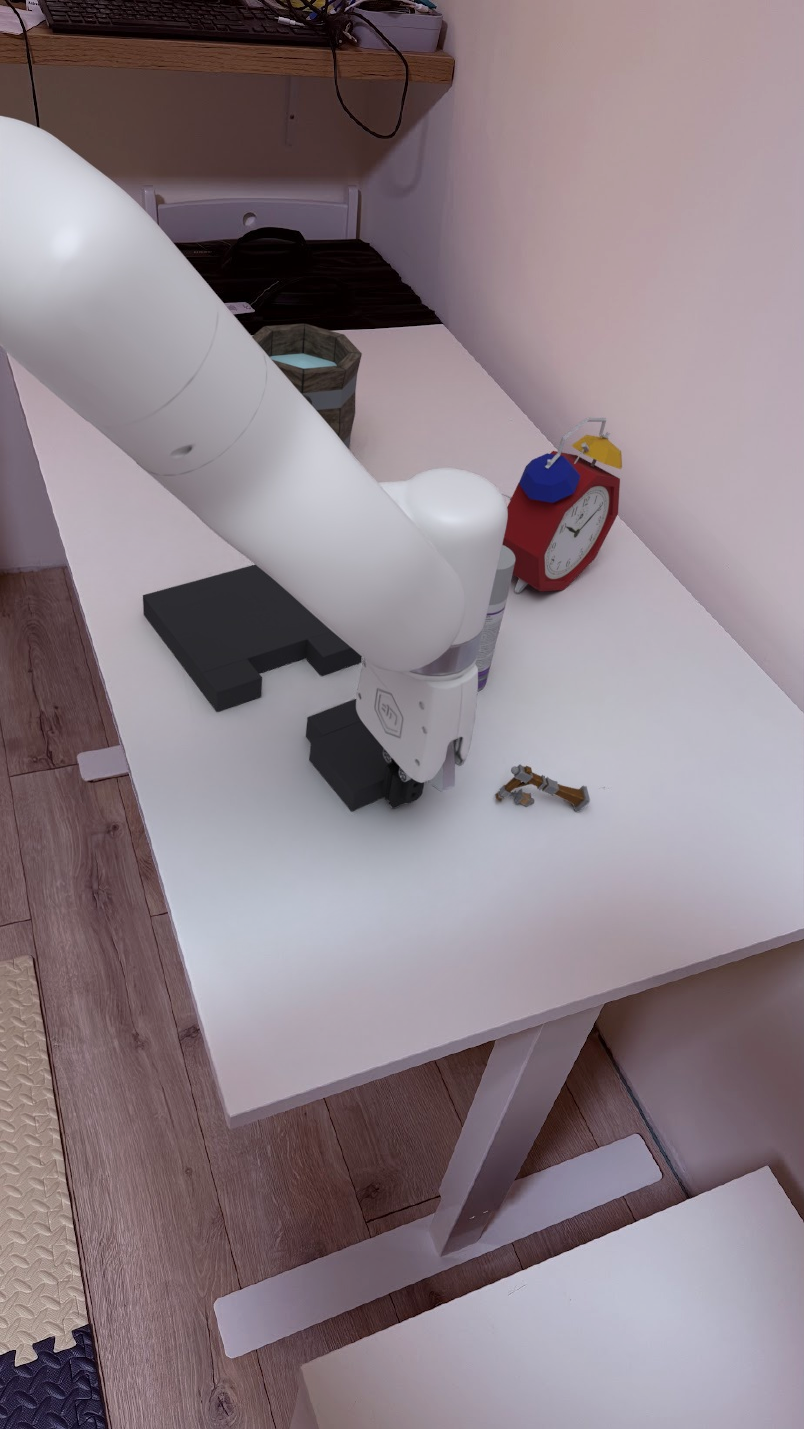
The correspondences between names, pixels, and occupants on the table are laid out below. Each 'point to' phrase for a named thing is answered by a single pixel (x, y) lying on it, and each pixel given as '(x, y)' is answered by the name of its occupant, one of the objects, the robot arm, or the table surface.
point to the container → (494, 614)
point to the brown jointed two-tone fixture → (547, 785)
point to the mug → (317, 369)
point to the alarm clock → (562, 512)
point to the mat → (241, 633)
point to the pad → (347, 754)
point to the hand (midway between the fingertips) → (401, 796)
